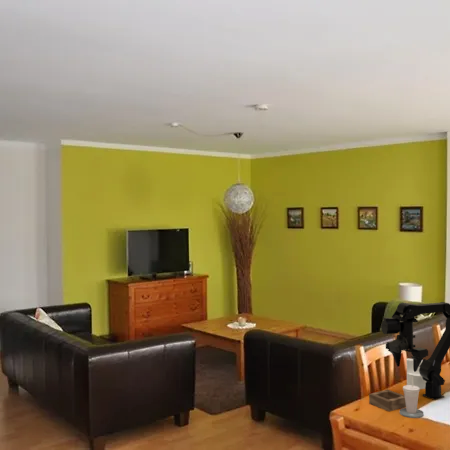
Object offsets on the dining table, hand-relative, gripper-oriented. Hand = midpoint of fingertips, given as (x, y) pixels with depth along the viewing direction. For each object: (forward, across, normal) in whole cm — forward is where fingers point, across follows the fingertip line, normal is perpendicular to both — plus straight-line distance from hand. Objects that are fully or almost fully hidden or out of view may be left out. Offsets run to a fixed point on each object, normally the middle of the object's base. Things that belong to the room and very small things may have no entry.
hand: (406, 368), depth 231 cm
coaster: (+13, +13, -12) cm, 22 cm away
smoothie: (+12, +13, -12) cm, 22 cm away
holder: (+13, +1, -12) cm, 18 cm away
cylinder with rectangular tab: (+13, -10, +18) cm, 24 cm away
